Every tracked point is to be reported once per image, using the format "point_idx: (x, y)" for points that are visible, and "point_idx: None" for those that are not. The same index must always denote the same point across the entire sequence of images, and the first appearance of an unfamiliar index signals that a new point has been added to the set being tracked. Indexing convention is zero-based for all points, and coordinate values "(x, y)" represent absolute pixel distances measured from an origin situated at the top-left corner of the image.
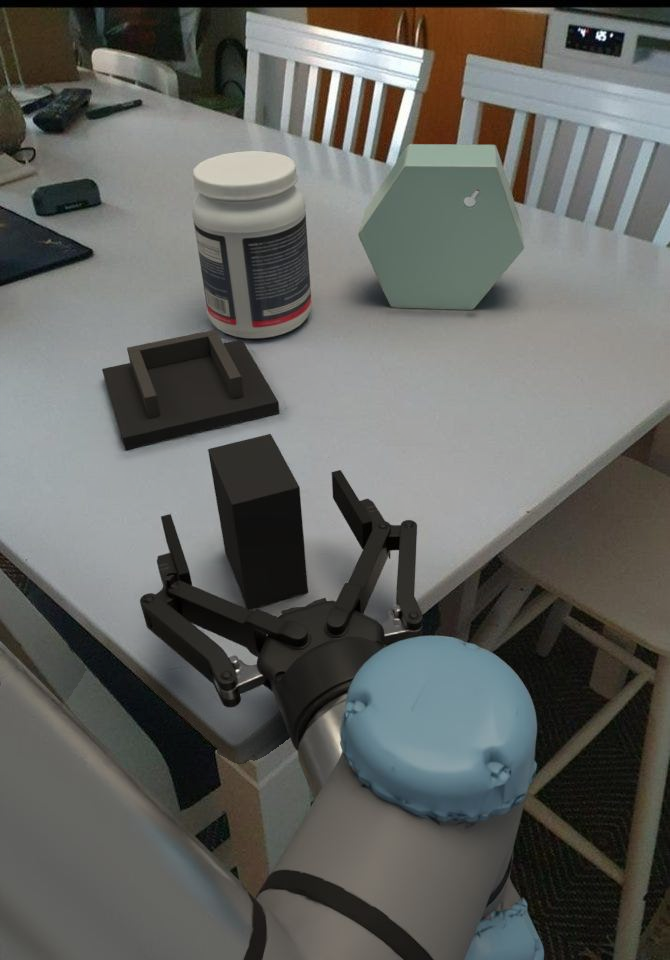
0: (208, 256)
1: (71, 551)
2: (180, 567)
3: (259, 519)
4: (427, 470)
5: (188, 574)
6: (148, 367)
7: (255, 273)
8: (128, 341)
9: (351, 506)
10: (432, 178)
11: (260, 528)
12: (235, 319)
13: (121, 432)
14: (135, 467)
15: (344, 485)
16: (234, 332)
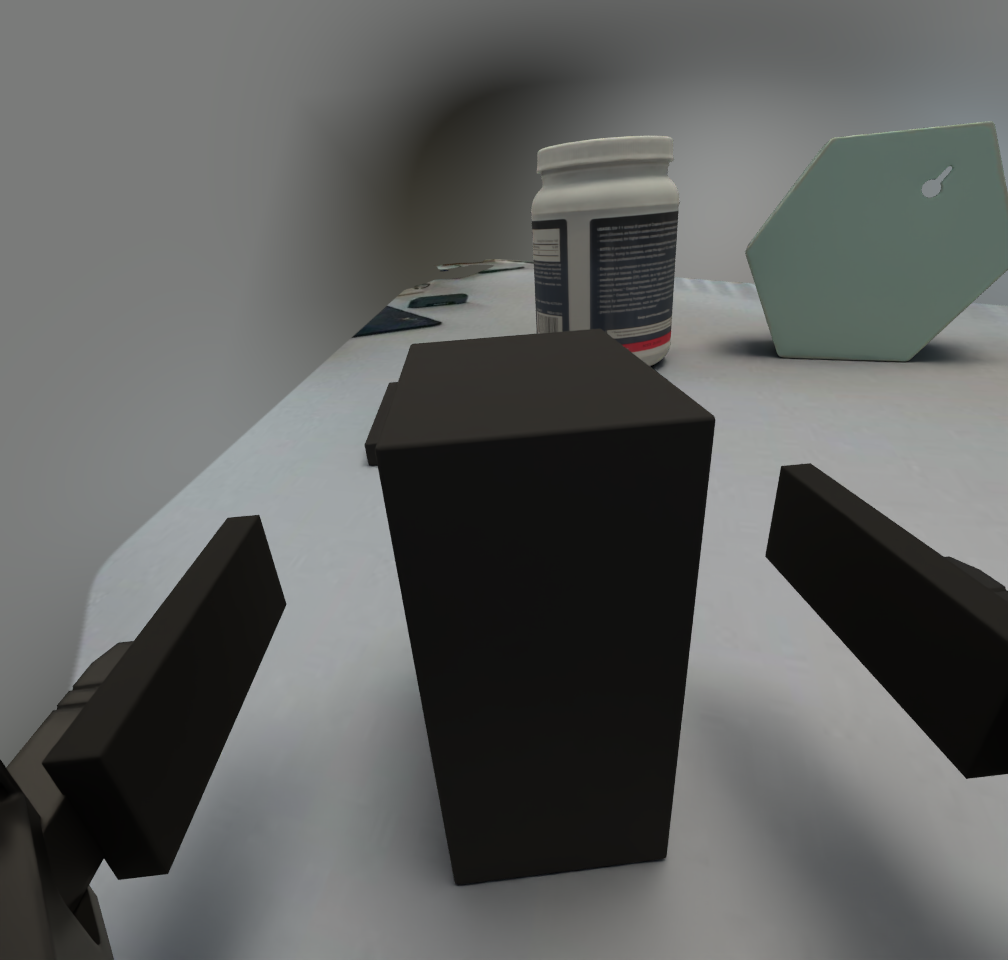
0: (543, 257)
1: None
2: (89, 718)
3: (509, 553)
4: (943, 551)
5: (98, 766)
6: None
7: (602, 273)
8: None
9: (906, 570)
10: (874, 153)
11: (512, 597)
12: None
13: (367, 438)
14: (369, 487)
15: (843, 501)
16: None
